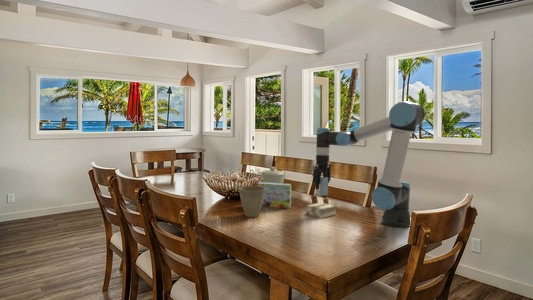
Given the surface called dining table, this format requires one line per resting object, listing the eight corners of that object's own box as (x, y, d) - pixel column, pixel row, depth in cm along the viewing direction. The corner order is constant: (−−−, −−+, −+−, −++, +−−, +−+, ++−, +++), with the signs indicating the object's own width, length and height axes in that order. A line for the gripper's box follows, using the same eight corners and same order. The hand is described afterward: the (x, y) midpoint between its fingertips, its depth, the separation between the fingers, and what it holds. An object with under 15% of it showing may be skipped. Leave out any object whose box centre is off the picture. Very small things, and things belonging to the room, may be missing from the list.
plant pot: (234, 214, 199) (235, 186, 198) (257, 211, 206) (258, 185, 205) (245, 220, 186) (245, 191, 185) (269, 217, 193) (269, 189, 192)
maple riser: (335, 214, 201) (335, 206, 200) (321, 218, 193) (322, 209, 193) (320, 210, 210) (320, 202, 210) (306, 213, 203) (306, 205, 202)
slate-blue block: (327, 194, 200) (328, 177, 200) (322, 195, 197) (322, 178, 196) (321, 193, 204) (321, 176, 203) (315, 194, 201) (315, 177, 200)
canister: (256, 196, 246) (257, 167, 244) (264, 192, 263) (265, 164, 261) (280, 198, 240) (281, 169, 238) (287, 193, 257) (288, 166, 256)
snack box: (256, 206, 218) (256, 183, 217) (258, 204, 223) (259, 181, 222) (289, 209, 213) (290, 185, 212) (291, 206, 218) (291, 183, 217)
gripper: (328, 153, 207) (326, 191, 209) (307, 154, 196) (305, 194, 198) (337, 154, 202) (336, 193, 204) (316, 155, 190) (315, 197, 192)
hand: (321, 193), depth 201 cm, fingers closed on slate-blue block, 5 cm apart
